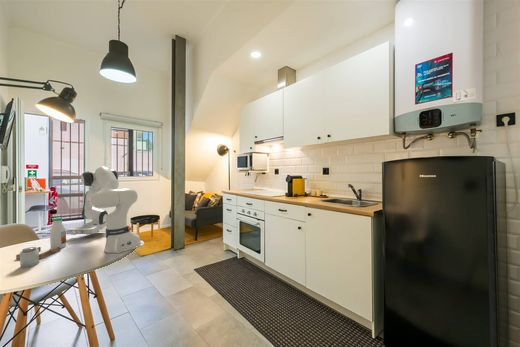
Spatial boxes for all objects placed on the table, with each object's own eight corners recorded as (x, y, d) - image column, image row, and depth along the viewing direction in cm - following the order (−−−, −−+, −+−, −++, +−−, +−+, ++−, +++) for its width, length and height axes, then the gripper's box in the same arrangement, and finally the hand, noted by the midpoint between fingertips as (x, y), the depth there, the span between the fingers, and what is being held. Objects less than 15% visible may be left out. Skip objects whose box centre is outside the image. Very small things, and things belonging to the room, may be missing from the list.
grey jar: (40, 261, 122) (39, 245, 121) (37, 265, 116) (37, 248, 116) (22, 264, 117) (21, 248, 117) (18, 269, 112) (18, 252, 112)
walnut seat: (39, 250, 137) (39, 247, 137) (60, 250, 136) (59, 247, 136) (16, 259, 124) (16, 255, 124) (39, 259, 124) (39, 255, 124)
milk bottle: (56, 249, 138) (55, 219, 138) (47, 249, 140) (46, 219, 139) (69, 245, 146) (68, 216, 145) (60, 244, 147) (59, 216, 147)
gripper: (75, 224, 167) (58, 229, 153) (100, 224, 166) (85, 229, 152) (76, 232, 167) (58, 238, 153) (101, 232, 166) (86, 238, 153)
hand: (72, 233), depth 153 cm, fingers closed
